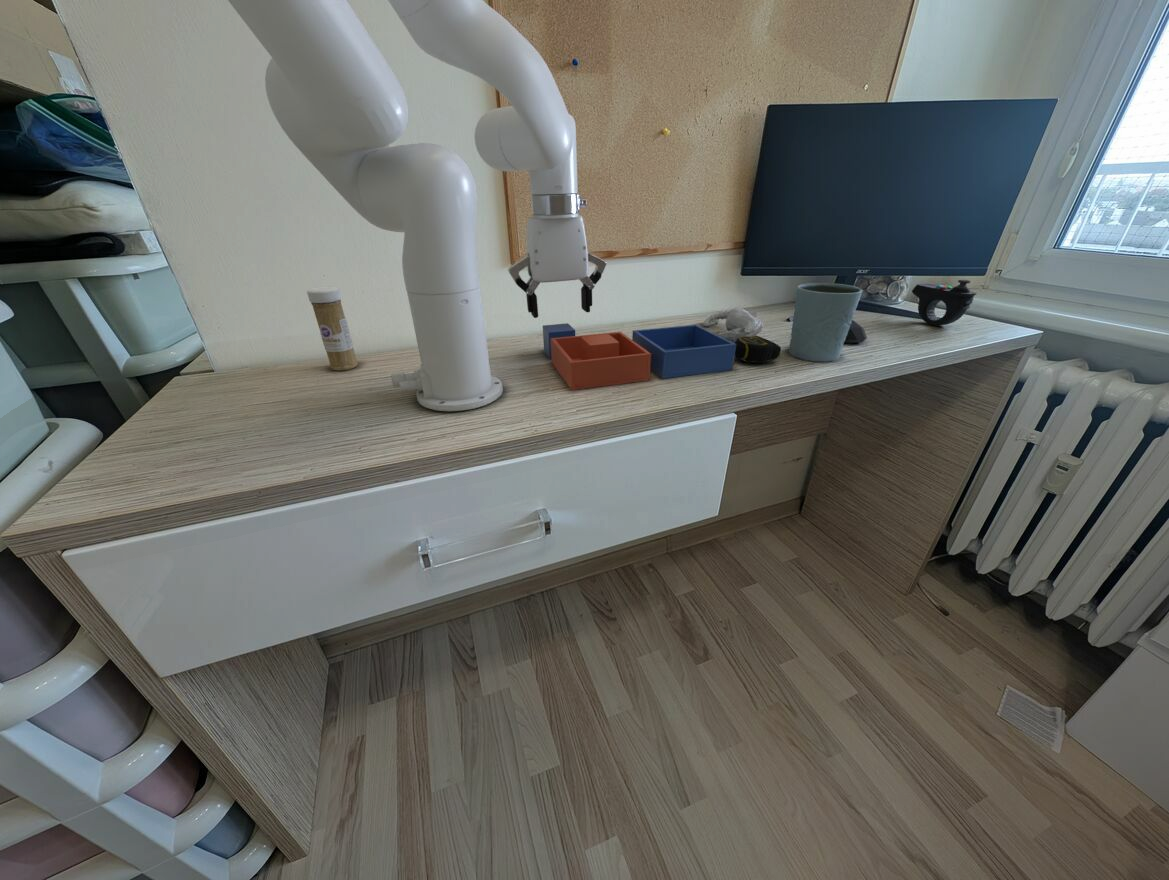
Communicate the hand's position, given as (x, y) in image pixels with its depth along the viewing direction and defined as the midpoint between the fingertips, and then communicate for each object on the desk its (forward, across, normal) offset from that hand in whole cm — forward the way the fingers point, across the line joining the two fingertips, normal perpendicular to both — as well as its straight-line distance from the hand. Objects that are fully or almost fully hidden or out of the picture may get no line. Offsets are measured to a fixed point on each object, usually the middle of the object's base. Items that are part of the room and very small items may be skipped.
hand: (560, 313), depth 79 cm
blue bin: (+8, -19, +12) cm, 23 cm away
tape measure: (+8, -32, +15) cm, 36 cm away
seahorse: (+9, -37, 0) cm, 38 cm away
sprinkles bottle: (+7, +39, -4) cm, 40 cm away
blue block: (+7, +1, +1) cm, 8 cm away
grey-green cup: (+8, -44, +16) cm, 48 cm away
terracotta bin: (+7, -3, +12) cm, 14 cm away
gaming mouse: (+9, -57, +7) cm, 58 cm away
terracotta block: (+7, -4, +12) cm, 14 cm away
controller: (+10, -85, +7) cm, 86 cm away
